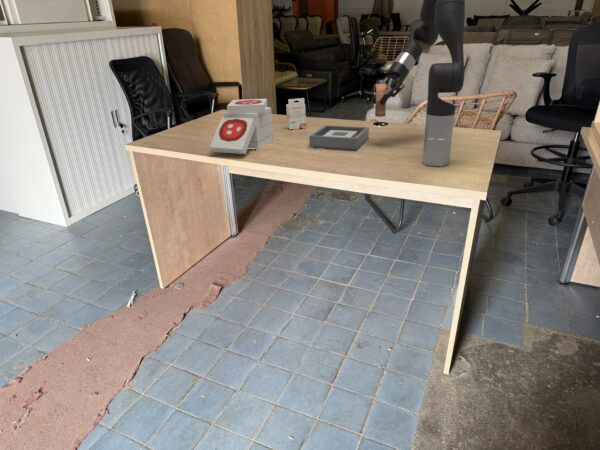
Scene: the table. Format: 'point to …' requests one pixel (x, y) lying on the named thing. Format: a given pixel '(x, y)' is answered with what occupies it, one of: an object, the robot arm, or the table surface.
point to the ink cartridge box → (296, 113)
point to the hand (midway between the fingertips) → (377, 103)
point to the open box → (339, 137)
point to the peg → (380, 91)
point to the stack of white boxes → (243, 127)
